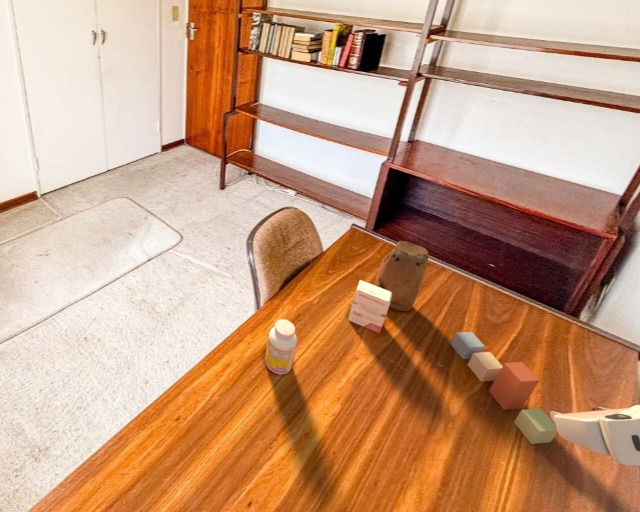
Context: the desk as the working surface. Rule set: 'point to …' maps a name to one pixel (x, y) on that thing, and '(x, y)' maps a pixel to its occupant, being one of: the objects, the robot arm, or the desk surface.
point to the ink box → (370, 306)
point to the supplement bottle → (281, 347)
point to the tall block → (513, 385)
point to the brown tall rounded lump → (402, 274)
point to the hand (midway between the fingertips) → (575, 413)
